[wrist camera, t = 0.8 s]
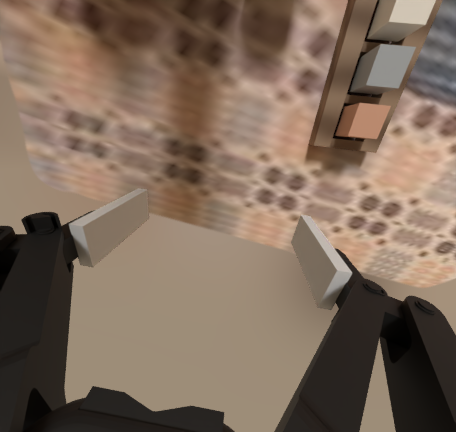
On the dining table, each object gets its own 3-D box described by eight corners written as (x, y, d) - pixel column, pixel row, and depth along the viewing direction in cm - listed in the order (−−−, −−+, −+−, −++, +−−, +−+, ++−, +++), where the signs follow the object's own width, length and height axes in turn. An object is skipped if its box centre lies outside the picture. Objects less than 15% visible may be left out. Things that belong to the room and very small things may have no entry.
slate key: (360, 57, 27) (380, 43, 23) (390, 59, 27) (416, 47, 23) (349, 91, 29) (366, 85, 25) (377, 94, 29) (398, 88, 25)
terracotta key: (344, 106, 30) (359, 102, 26) (371, 109, 30) (391, 106, 26) (335, 135, 32) (347, 135, 28) (360, 138, 32) (376, 139, 27)
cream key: (380, -4, 24) (407, -32, 20) (414, -2, 24) (448, -29, 20) (366, 39, 26) (388, 21, 22) (397, 41, 26) (425, 24, 22)
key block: (352, -14, 26) (364, -31, 23) (431, -8, 25) (453, -25, 23) (308, 144, 35) (313, 145, 32) (365, 151, 35) (376, 152, 32)
